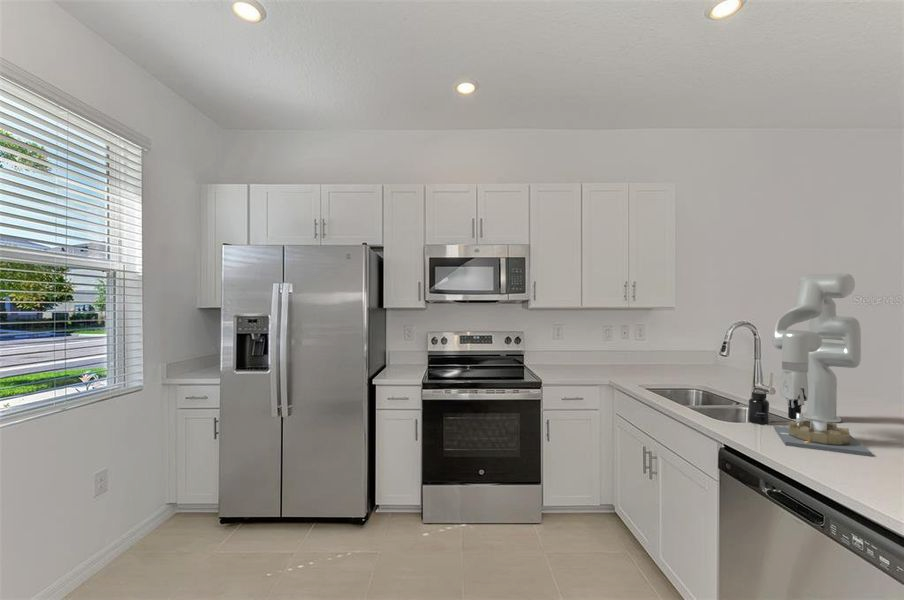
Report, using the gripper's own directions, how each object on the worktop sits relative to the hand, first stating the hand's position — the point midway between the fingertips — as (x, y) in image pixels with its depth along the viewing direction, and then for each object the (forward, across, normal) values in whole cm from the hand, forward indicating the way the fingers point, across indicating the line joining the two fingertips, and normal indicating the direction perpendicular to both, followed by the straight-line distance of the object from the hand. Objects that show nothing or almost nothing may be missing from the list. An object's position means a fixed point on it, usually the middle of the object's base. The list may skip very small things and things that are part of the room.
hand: (794, 418), depth 160 cm
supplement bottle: (+7, -19, -4) cm, 21 cm away
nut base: (+7, +2, +6) cm, 9 cm away
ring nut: (+5, +2, +6) cm, 8 cm away
